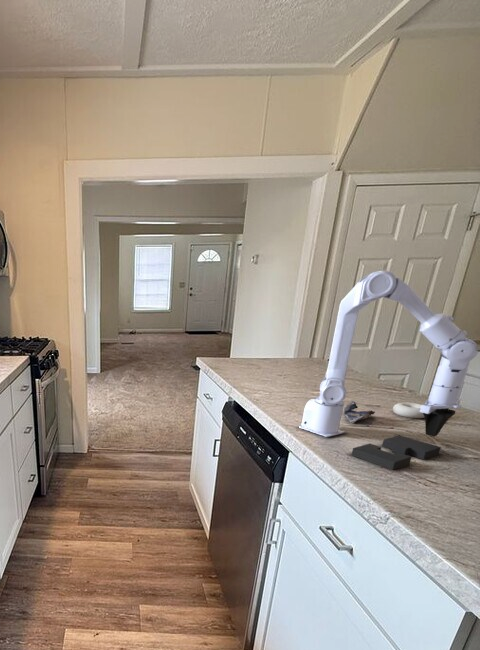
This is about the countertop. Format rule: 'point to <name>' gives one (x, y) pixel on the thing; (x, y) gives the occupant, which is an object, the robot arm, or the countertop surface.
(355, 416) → the snack package
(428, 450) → the tab pad
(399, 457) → the base pad
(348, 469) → the countertop surface
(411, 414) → the donut
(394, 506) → the countertop surface
